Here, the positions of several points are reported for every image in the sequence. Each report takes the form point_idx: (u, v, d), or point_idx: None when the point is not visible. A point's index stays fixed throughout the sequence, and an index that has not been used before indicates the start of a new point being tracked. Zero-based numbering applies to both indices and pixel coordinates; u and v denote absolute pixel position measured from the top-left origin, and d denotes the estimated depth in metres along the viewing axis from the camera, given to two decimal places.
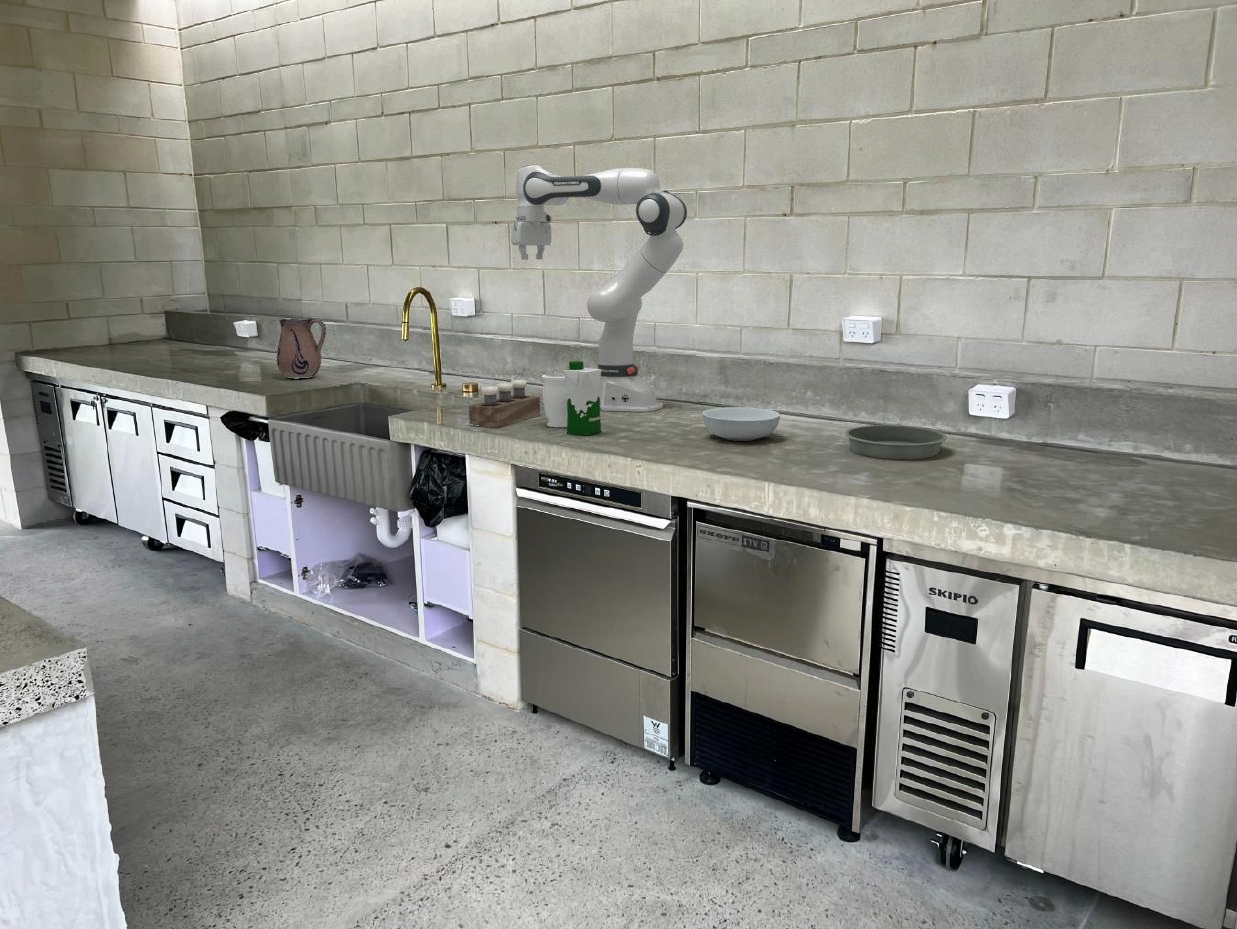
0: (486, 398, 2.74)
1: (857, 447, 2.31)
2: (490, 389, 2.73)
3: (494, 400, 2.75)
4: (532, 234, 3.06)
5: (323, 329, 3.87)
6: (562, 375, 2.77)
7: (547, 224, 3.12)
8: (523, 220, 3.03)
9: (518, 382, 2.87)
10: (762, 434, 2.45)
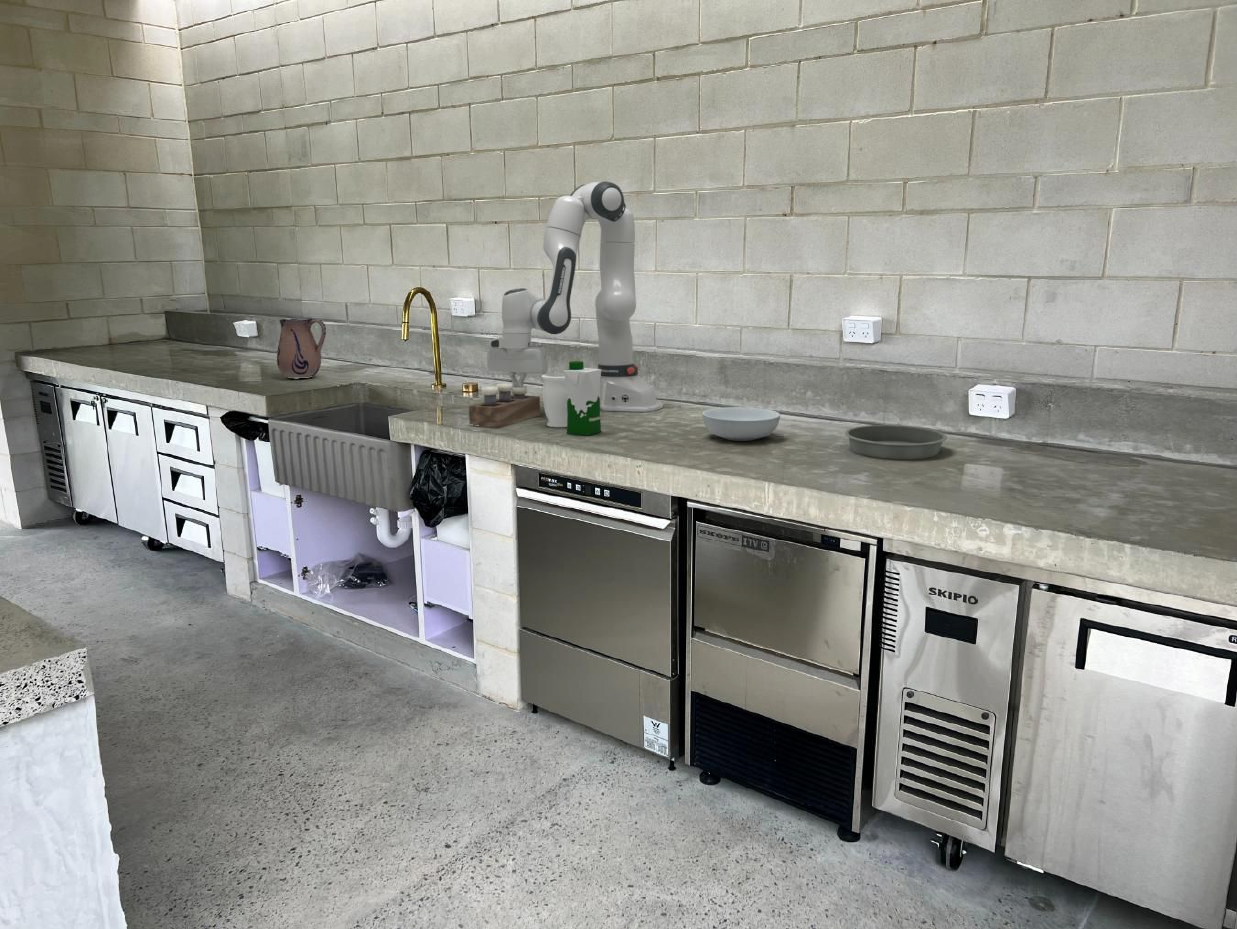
0: (486, 398, 2.74)
1: (857, 446, 2.31)
2: (490, 389, 2.73)
3: (494, 400, 2.75)
4: None
5: (323, 329, 3.87)
6: (562, 375, 2.77)
7: None
8: None
9: (518, 388, 2.87)
10: (762, 434, 2.45)
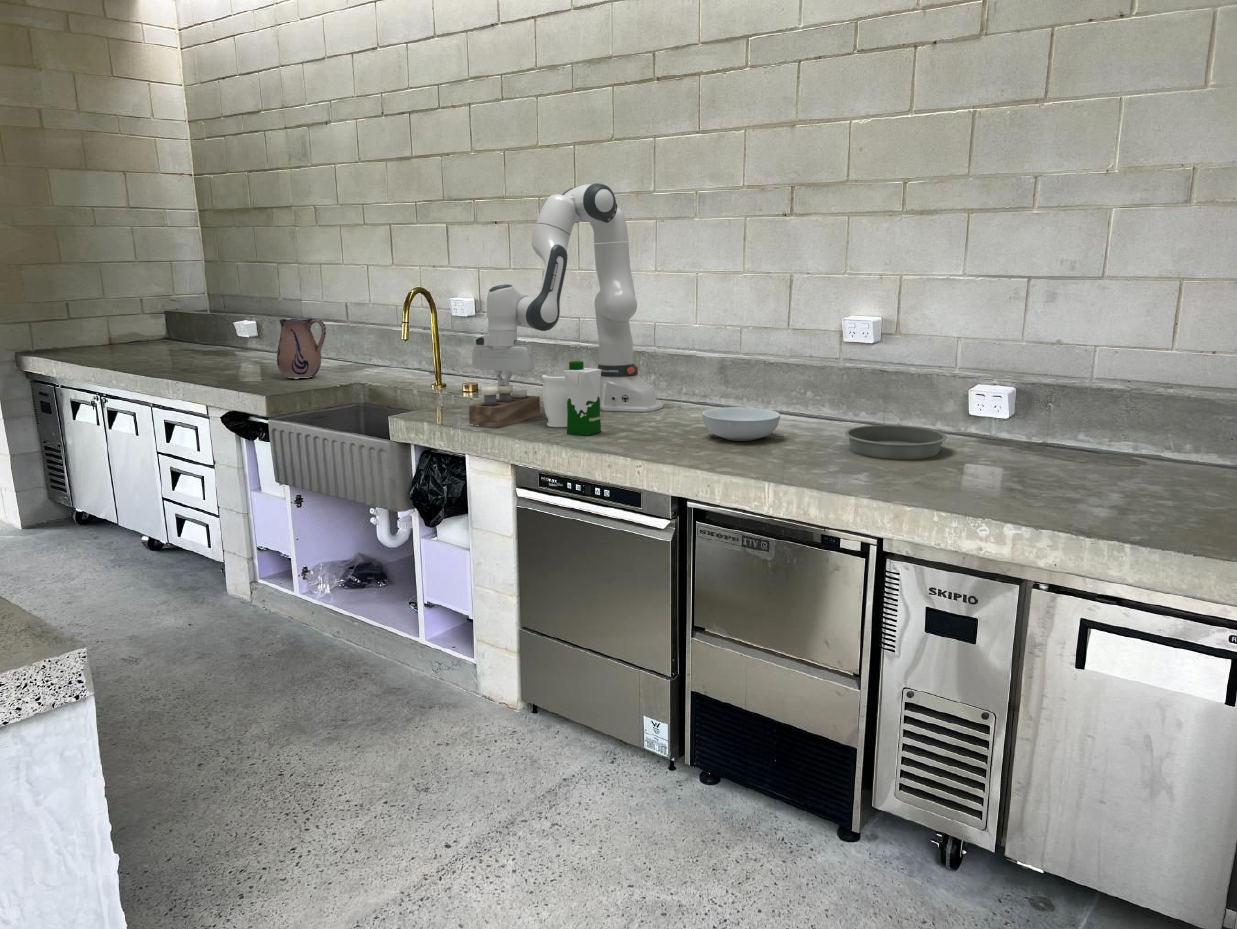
0: (486, 398, 2.74)
1: (857, 447, 2.31)
2: (490, 389, 2.73)
3: (494, 400, 2.75)
4: None
5: (323, 329, 3.87)
6: (562, 375, 2.77)
7: None
8: None
9: (518, 392, 2.87)
10: (762, 434, 2.45)
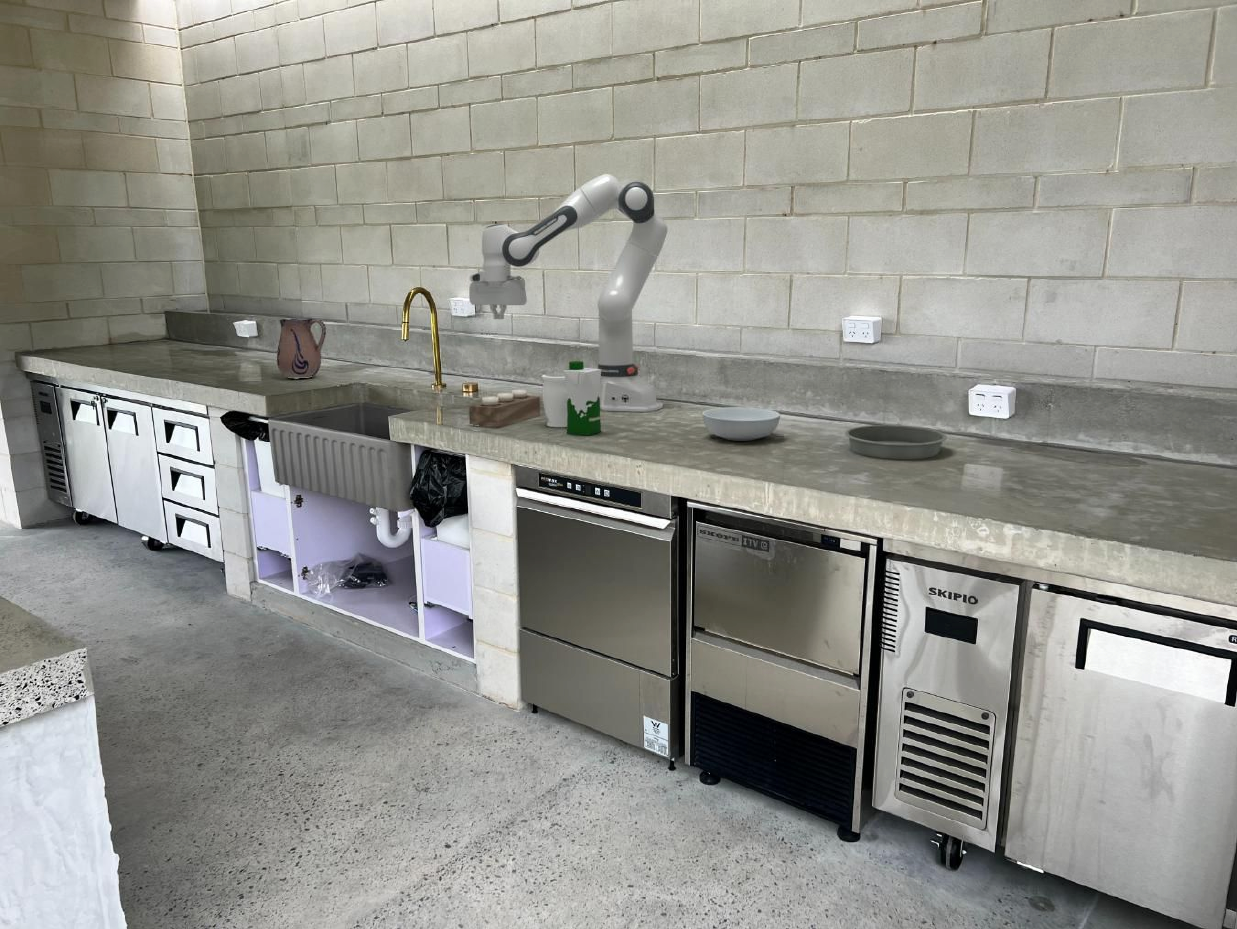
0: None
1: (856, 447, 2.31)
2: (490, 399, 2.74)
3: None
4: None
5: (323, 329, 3.87)
6: (562, 375, 2.77)
7: None
8: None
9: (518, 392, 2.87)
10: (762, 434, 2.45)
